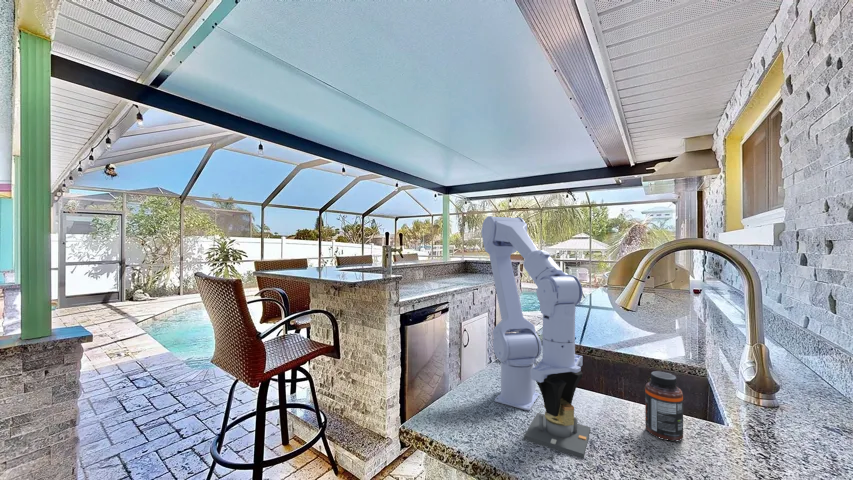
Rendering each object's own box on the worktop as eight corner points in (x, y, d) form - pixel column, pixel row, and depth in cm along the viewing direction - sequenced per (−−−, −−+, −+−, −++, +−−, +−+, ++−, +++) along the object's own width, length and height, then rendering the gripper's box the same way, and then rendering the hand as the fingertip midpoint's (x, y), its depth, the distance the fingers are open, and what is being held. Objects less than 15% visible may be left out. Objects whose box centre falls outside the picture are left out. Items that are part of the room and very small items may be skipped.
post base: (537, 416, 69) (537, 400, 69) (590, 431, 64) (590, 413, 64) (524, 439, 61) (524, 420, 61) (583, 458, 56) (583, 438, 56)
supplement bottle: (647, 422, 68) (647, 366, 68) (683, 433, 64) (683, 374, 64) (643, 434, 63) (643, 375, 63) (682, 447, 59) (682, 383, 60)
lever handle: (537, 410, 66) (537, 391, 66) (559, 408, 66) (559, 389, 66) (557, 429, 59) (557, 408, 59) (581, 427, 59) (581, 406, 60)
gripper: (556, 351, 55) (556, 433, 55) (598, 337, 64) (597, 408, 64) (521, 341, 61) (520, 415, 61) (564, 330, 70) (563, 394, 69)
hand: (558, 410), depth 63 cm, fingers closed on lever handle, 3 cm apart
